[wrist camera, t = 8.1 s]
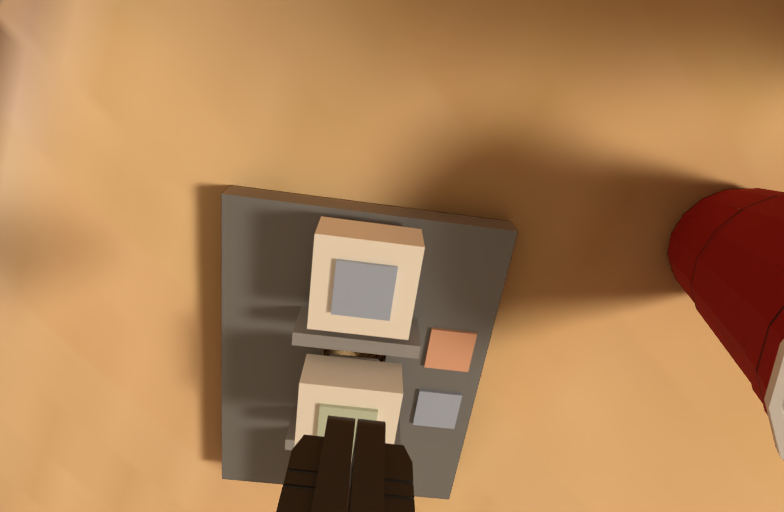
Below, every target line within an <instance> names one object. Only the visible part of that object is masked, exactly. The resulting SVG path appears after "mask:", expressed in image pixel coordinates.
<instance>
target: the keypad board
mask: <svg viewBox="0 0 784 512" xmlns="http://www.w3.org/2000/svg"><path fill="white" fill-rule="evenodd" d="M221 201H222V479H229V480H240V481H251V482H262V483H273V484H283V483H284V479H285V475H286V472H287V467H288V463H289V459H290V455H291V451H292V449H293V448H294V445H295V432H296V419H297V405H298V392H299V382H300V378H301V374H302V370H303V366H304V363H305V359H306V355H307V354H315V355H324V350H325V349H332V350H341V351H351V352H360V353H369V354H378V355H384V358H383V362H389V363H398V364H402V378H403V398H402V403H401V409H400V414H399V420H398V425H397V431H396V436H395V442H394V444H397V445H404V447H405V449H406V451H407V453H408V455H409V456H410V458H411V460H412V462H413V485H414V496H417V497H428V498H439V499H449V497H450V493H451V490H452V486H453V482H454V478H455V474H456V470H457V466H458V462H459V458H460V455H461V451H462V447H463V443H464V439H465V435H466V431H467V427H468V423H469V420H470V416H471V412H472V408H473V404H474V400H475V396H476V392H477V388H478V385H479V381H480V377H481V373H482V369H483V365H484V361H485V357H486V353H487V350H488V346H489V342H490V338H491V334H492V330H493V326H494V322H495V318H496V315H497V311H498V307H499V303H500V299H501V295H502V291H503V287H504V283H505V280H506V276H507V272H508V268H509V264H510V260H511V256H512V252H513V248H514V245H515V241H516V237H517V233H518V231H517V230H516V228H515V227H514V226H513V224H512V223H511V221H505V220H497V219H489V218H481V217H474V216H466V215H458V214H450V213H443V212H435V211H427V210H419V209H412V208H404V207H396V206H388V205H381V204H373V203H365V202H357V201H350V200H342V199H334V198H326V197H319V196H311V195H303V194H295V193H288V192H280V191H272V190H264V189H257V188H249V187H241V186H233V185H231V186H230V187H229V188H227V189H226V190H225V191H224V192H223V193H222V194H221ZM321 216H322V217H330V218H338V219H346V220H354V221H362V222H370V223H378V224H386V225H393V226H401V227H409V228H417V229H421V230H422V235H423V240H424V245H425V250H424V255H423V261H422V266H421V272H420V278H419V283H418V289H417V294H416V300H415V306H414V311H413V317H412V322H411V328H410V334H409V339H408V340H404V339H395V338H386V337H377V336H368V335H359V334H350V333H341V332H332V331H323V330H314V329H307V322H308V310H309V297H310V285H311V272H312V260H313V247H314V235H315V231H316V229H317V226H318V223H319V221H320V218H321Z"/></svg>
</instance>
